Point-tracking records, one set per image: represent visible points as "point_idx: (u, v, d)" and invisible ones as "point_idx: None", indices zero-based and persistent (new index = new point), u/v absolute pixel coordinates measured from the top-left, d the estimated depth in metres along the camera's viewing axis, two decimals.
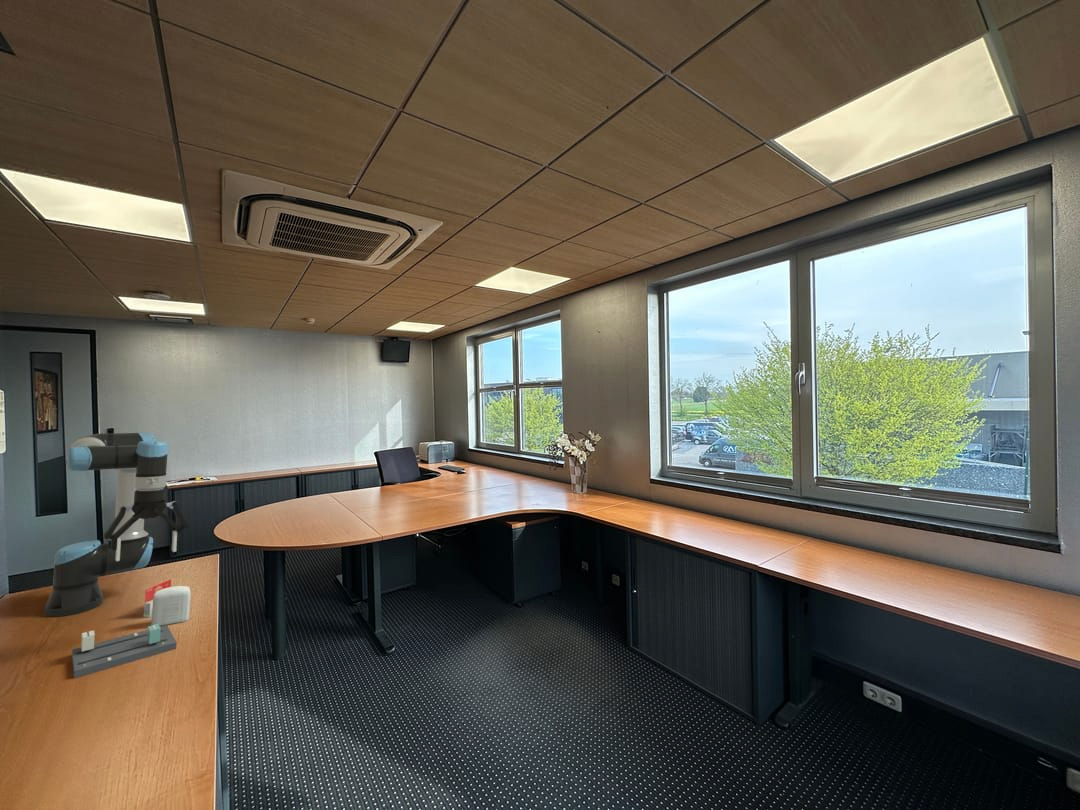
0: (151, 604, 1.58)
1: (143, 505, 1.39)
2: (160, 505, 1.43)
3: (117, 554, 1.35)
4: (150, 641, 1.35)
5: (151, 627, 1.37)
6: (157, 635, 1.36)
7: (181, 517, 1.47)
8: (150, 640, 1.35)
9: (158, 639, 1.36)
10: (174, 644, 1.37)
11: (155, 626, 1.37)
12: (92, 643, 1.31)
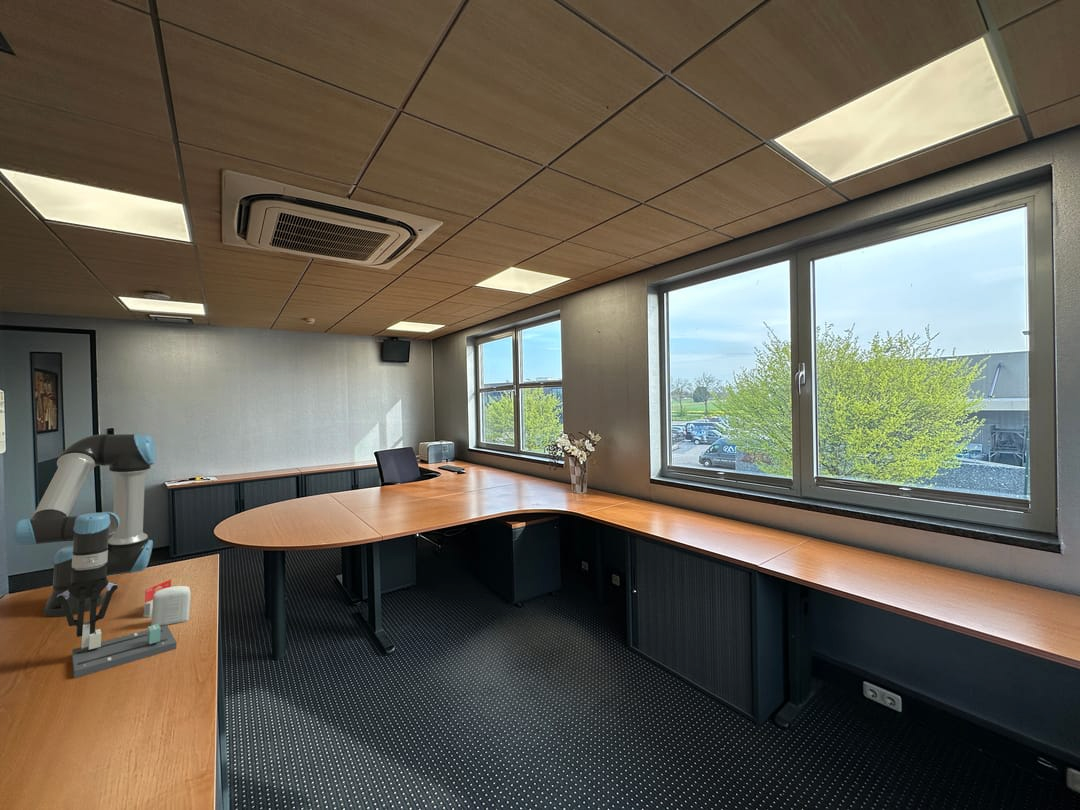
0: (151, 604, 1.58)
1: (77, 583, 1.29)
2: (102, 582, 1.33)
3: (82, 640, 1.30)
4: (150, 641, 1.35)
5: (151, 627, 1.37)
6: (157, 635, 1.36)
7: (106, 604, 1.34)
8: (150, 640, 1.35)
9: (158, 639, 1.36)
10: (174, 644, 1.37)
11: (155, 626, 1.37)
12: (99, 641, 1.32)
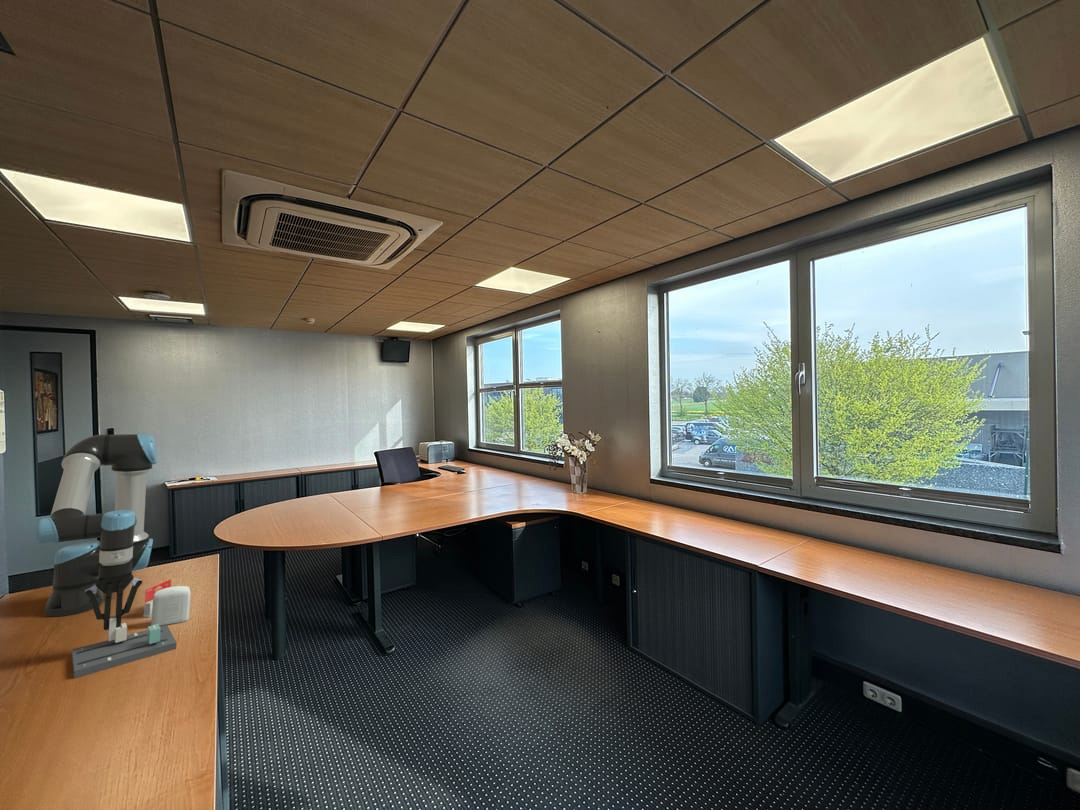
0: (151, 604, 1.58)
1: (104, 578, 1.33)
2: (128, 577, 1.37)
3: (109, 634, 1.34)
4: (150, 641, 1.35)
5: (151, 627, 1.37)
6: (157, 635, 1.36)
7: (132, 599, 1.38)
8: (150, 640, 1.35)
9: (158, 639, 1.36)
10: (174, 644, 1.37)
11: (155, 626, 1.37)
12: (125, 635, 1.36)
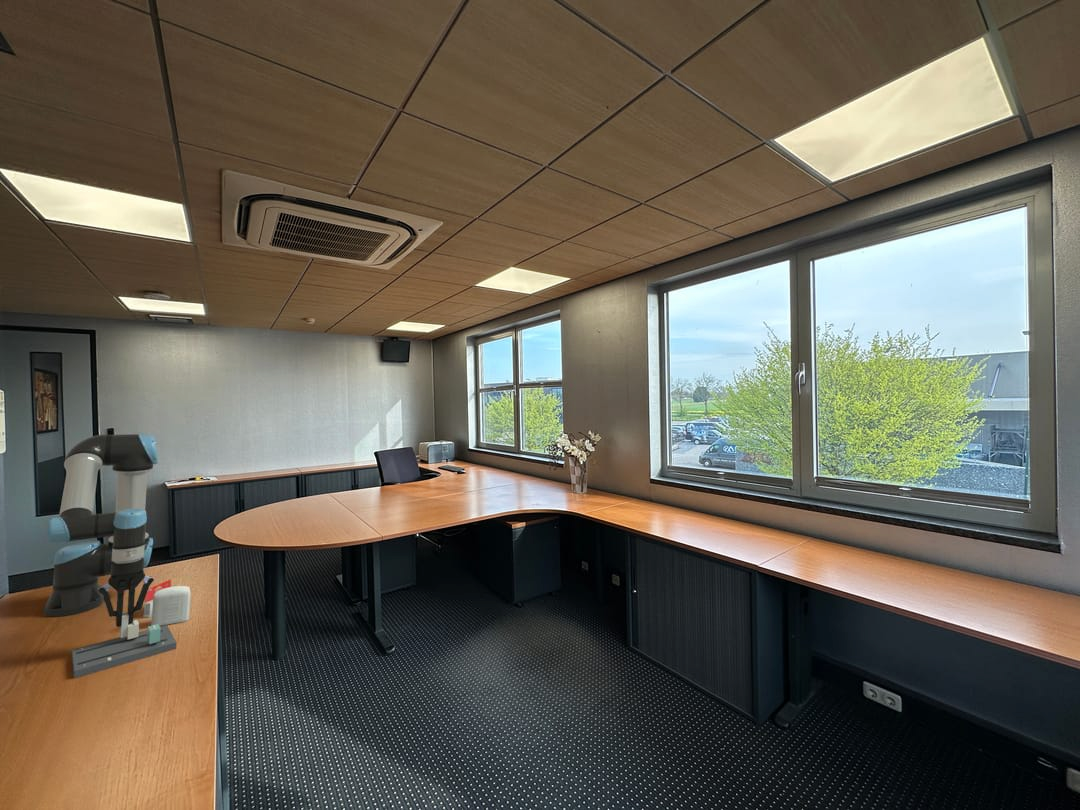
0: (151, 604, 1.58)
1: (116, 576, 1.35)
2: (139, 575, 1.39)
3: (122, 631, 1.36)
4: (150, 641, 1.35)
5: (151, 627, 1.37)
6: (157, 635, 1.36)
7: (143, 596, 1.40)
8: (150, 640, 1.35)
9: (158, 639, 1.36)
10: (174, 644, 1.37)
11: (155, 626, 1.37)
12: (137, 632, 1.38)
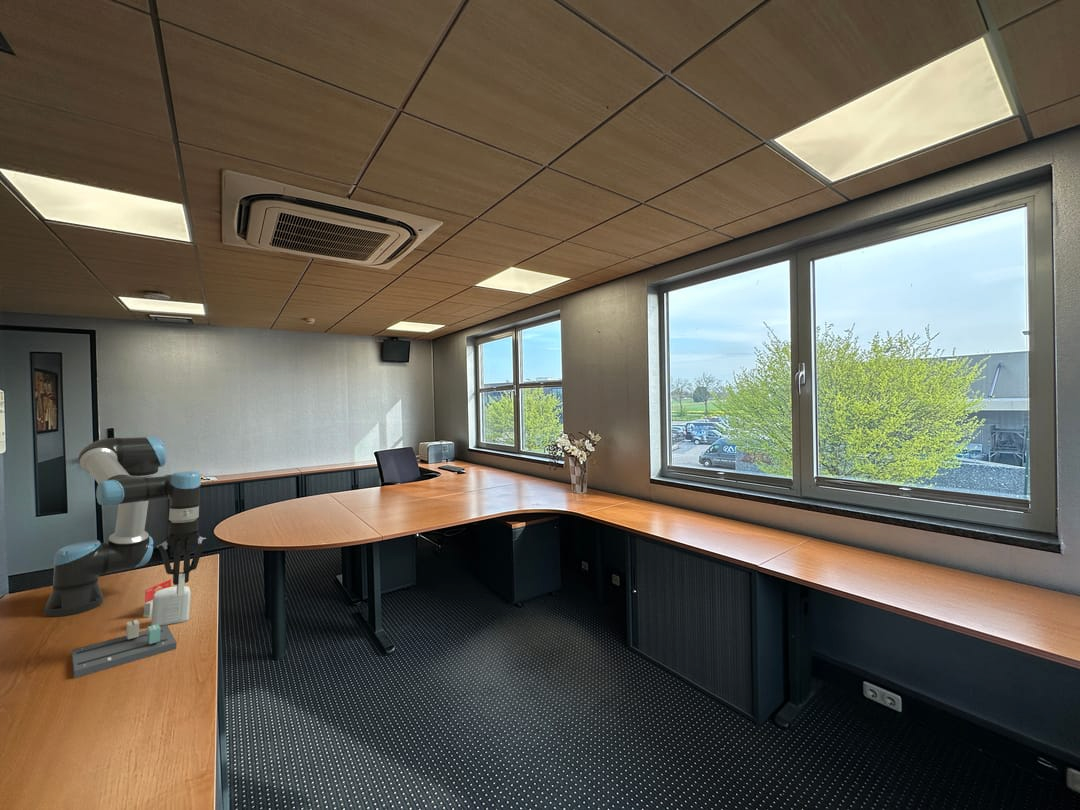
0: (151, 604, 1.58)
1: (174, 535, 1.39)
2: (194, 535, 1.43)
3: (179, 588, 1.40)
4: (150, 641, 1.35)
5: (151, 627, 1.37)
6: (157, 635, 1.36)
7: (198, 556, 1.44)
8: (150, 640, 1.35)
9: (158, 639, 1.36)
10: (174, 644, 1.37)
11: (155, 626, 1.37)
12: (137, 632, 1.38)
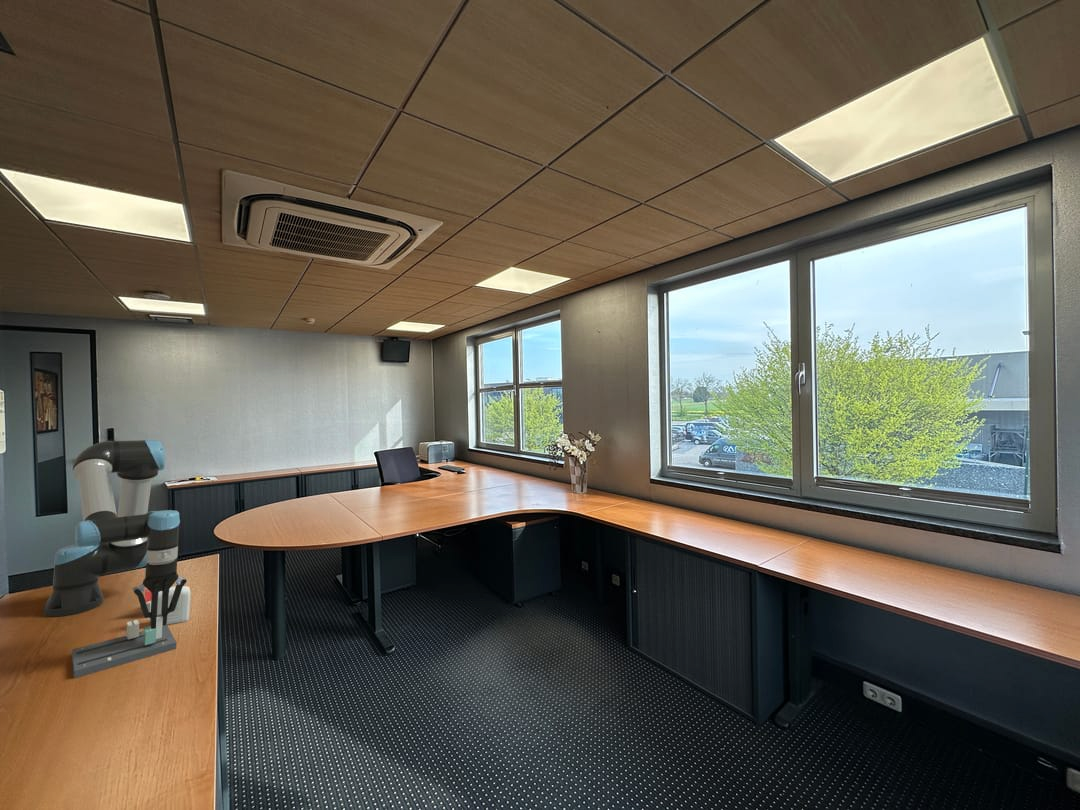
0: None
1: (151, 577, 1.35)
2: (173, 576, 1.39)
3: (156, 632, 1.36)
4: (146, 642, 1.34)
5: (147, 628, 1.36)
6: (152, 636, 1.35)
7: (177, 598, 1.40)
8: (146, 641, 1.34)
9: (154, 640, 1.35)
10: (174, 644, 1.37)
11: None
12: (137, 632, 1.38)
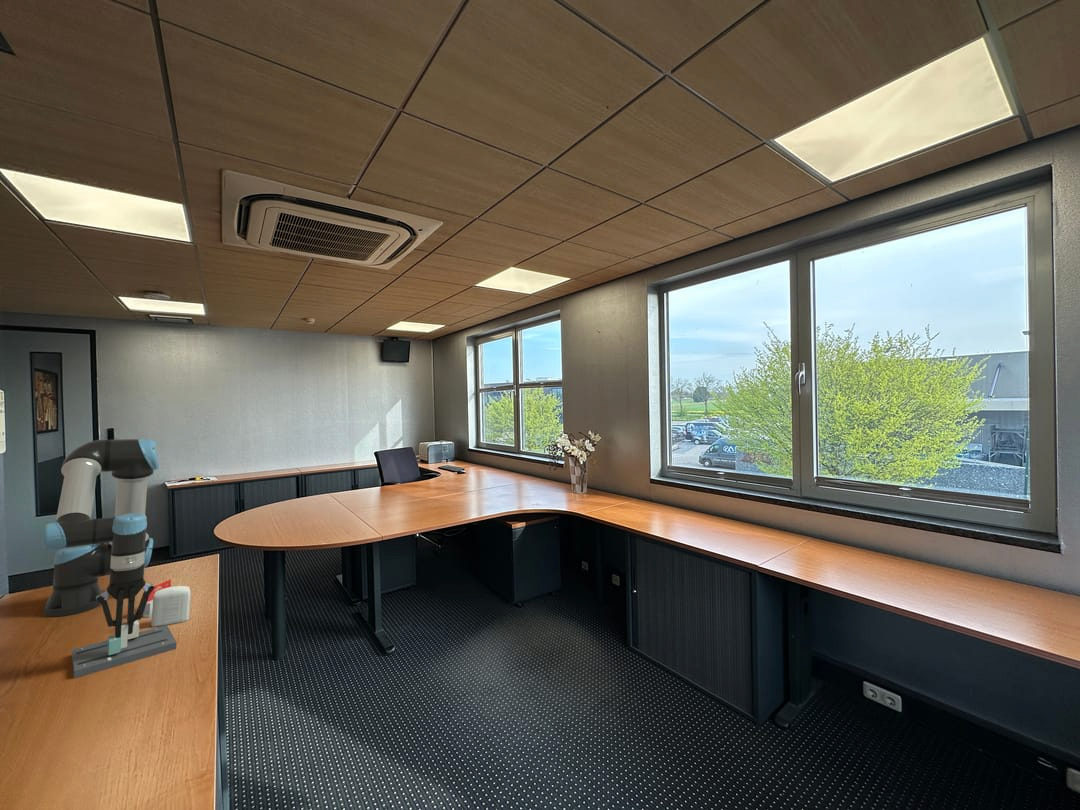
0: (151, 604, 1.58)
1: (115, 584, 1.29)
2: (139, 582, 1.33)
3: (121, 641, 1.30)
4: (110, 652, 1.28)
5: (111, 637, 1.30)
6: (117, 645, 1.29)
7: (143, 605, 1.34)
8: (110, 651, 1.28)
9: (118, 650, 1.29)
10: (174, 644, 1.37)
11: None
12: (137, 632, 1.38)
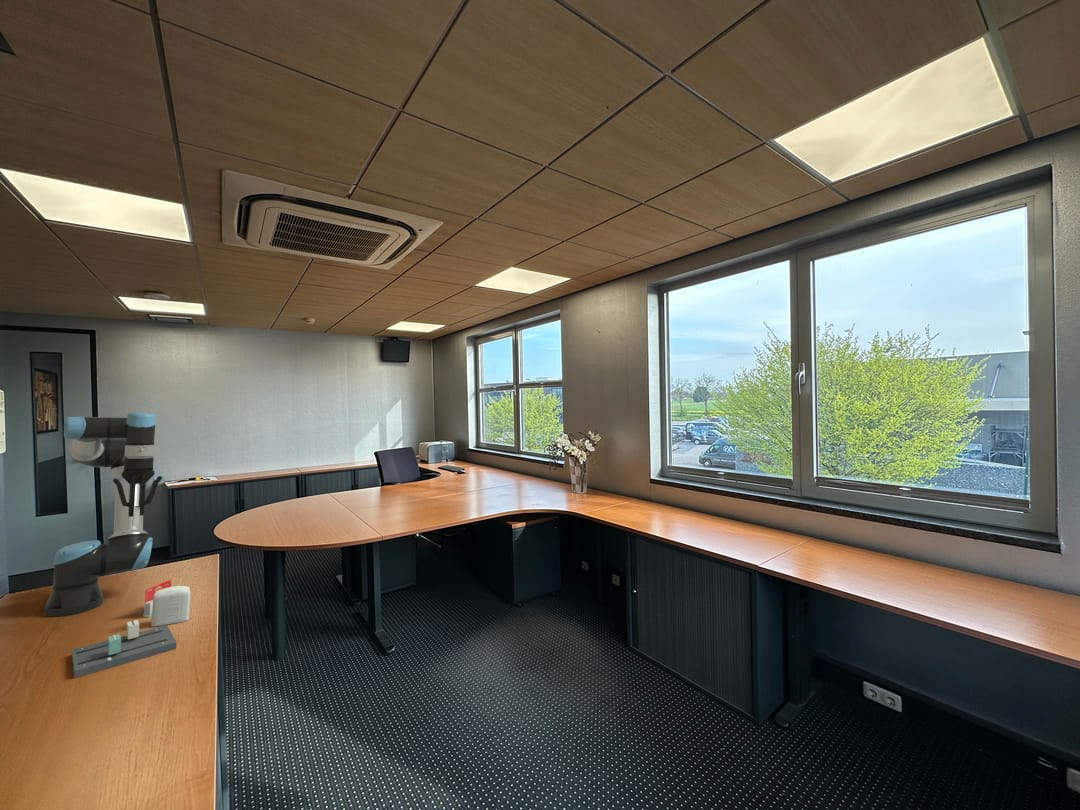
0: (151, 604, 1.58)
1: (129, 470, 1.49)
2: (149, 472, 1.53)
3: (134, 520, 1.50)
4: (109, 652, 1.28)
5: (111, 637, 1.30)
6: (117, 645, 1.29)
7: (153, 492, 1.54)
8: (109, 651, 1.28)
9: (118, 650, 1.29)
10: (174, 644, 1.37)
11: (116, 636, 1.31)
12: (137, 632, 1.38)
